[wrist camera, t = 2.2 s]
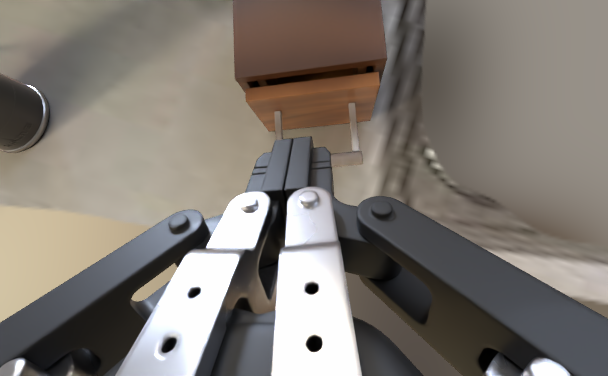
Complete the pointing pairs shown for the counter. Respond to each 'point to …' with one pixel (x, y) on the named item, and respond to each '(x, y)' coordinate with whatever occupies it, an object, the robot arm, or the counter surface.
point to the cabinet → (306, 38)
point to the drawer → (317, 104)
